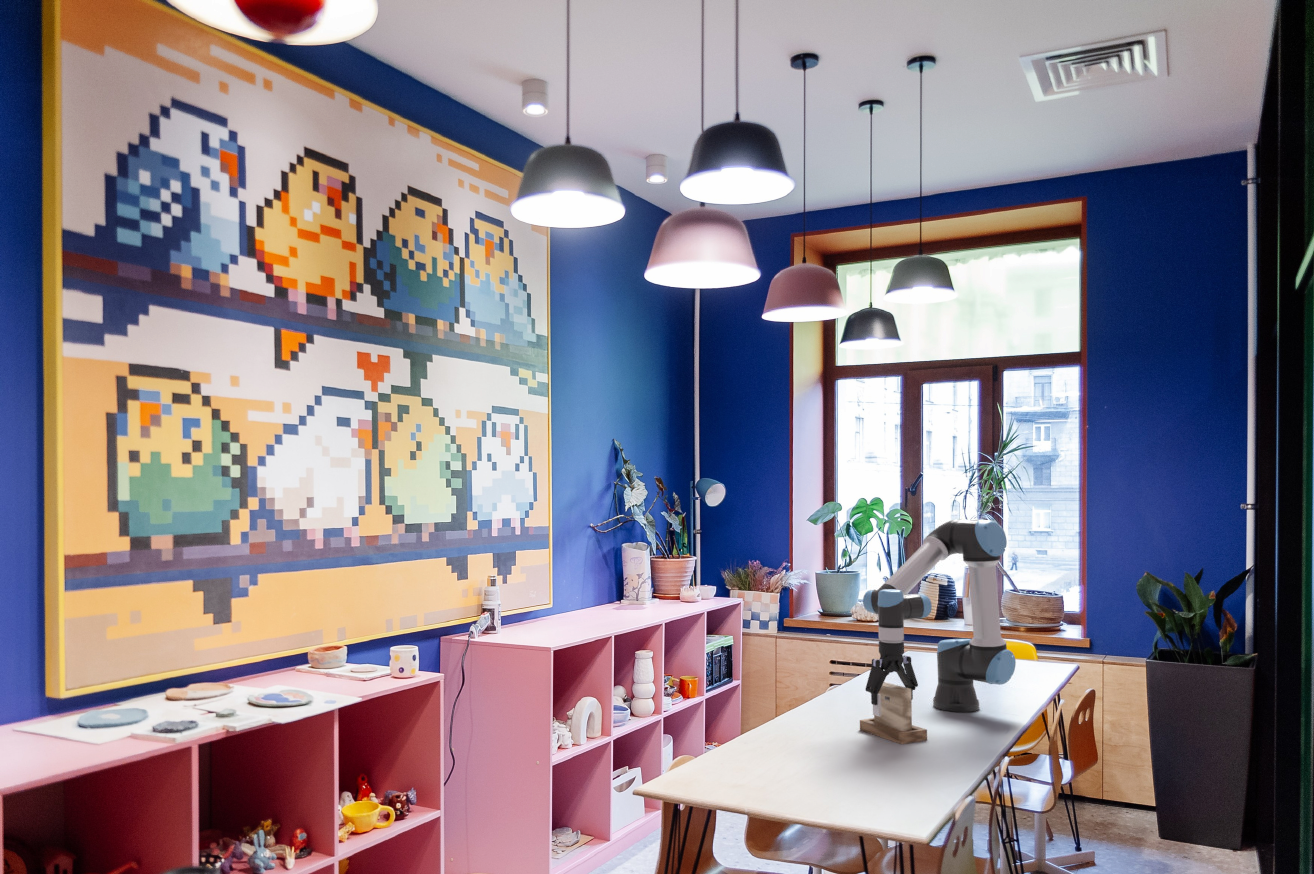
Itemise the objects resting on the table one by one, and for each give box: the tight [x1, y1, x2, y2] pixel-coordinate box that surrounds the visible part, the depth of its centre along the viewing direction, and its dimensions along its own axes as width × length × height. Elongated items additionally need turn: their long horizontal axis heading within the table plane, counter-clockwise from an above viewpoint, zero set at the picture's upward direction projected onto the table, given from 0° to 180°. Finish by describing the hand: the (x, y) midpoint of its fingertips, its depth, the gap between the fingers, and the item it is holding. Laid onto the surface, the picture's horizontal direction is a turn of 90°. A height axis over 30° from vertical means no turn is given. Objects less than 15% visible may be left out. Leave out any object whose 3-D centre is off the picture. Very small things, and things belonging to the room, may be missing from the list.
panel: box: [873, 681, 913, 732], centre depth 278 cm, size 4×12×14 cm, turn 28°
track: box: [859, 717, 928, 745], centre depth 277 cm, size 10×18×3 cm, turn 28°
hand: (892, 713), depth 278 cm, fingers open, 11 cm apart
